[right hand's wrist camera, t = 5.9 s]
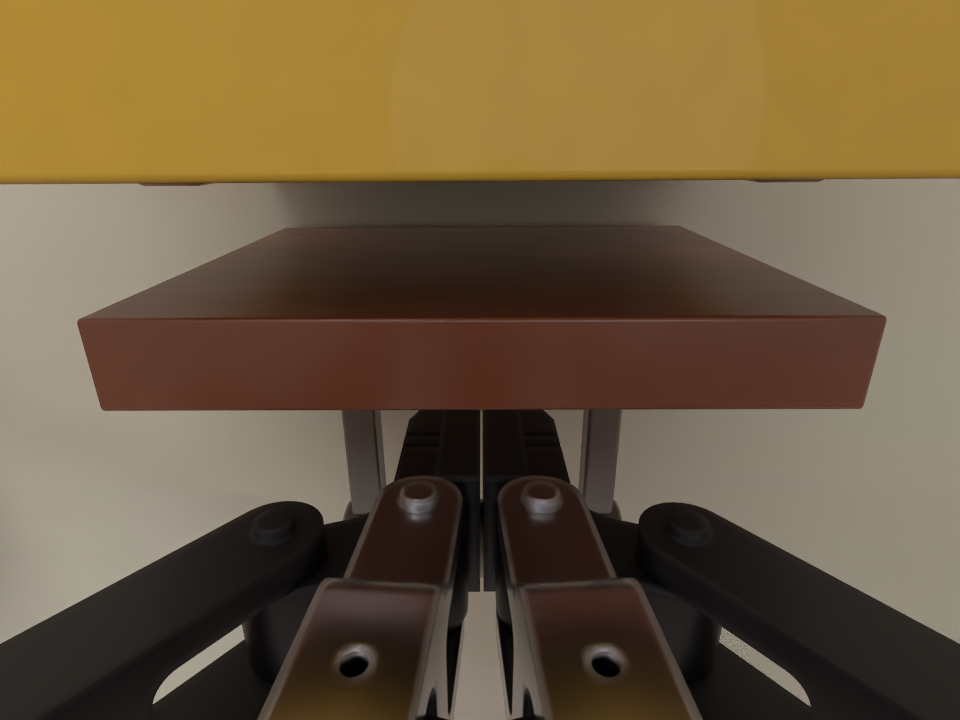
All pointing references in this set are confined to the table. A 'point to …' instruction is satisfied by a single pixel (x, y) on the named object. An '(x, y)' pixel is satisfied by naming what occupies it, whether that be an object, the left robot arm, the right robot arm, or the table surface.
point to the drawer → (482, 333)
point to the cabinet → (477, 90)
